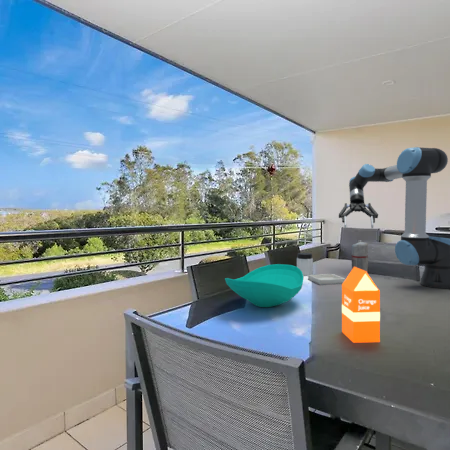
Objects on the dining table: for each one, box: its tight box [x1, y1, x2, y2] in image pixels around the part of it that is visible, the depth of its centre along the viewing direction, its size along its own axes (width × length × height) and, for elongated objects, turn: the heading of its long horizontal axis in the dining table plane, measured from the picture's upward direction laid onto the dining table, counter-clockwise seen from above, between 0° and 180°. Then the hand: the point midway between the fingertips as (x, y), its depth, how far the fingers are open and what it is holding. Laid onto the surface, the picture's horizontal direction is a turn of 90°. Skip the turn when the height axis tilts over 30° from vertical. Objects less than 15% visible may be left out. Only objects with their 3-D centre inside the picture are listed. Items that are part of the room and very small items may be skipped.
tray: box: [307, 273, 346, 286], centre depth 179 cm, size 14×14×2 cm
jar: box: [296, 252, 314, 277], centre depth 199 cm, size 9×8×12 cm
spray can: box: [350, 241, 369, 275], centre depth 178 cm, size 8×8×20 cm
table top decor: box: [224, 263, 305, 308], centre depth 137 cm, size 40×28×13 cm
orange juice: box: [341, 267, 381, 344], centre depth 101 cm, size 8×9×20 cm
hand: (358, 226), depth 186 cm, fingers open, 13 cm apart
